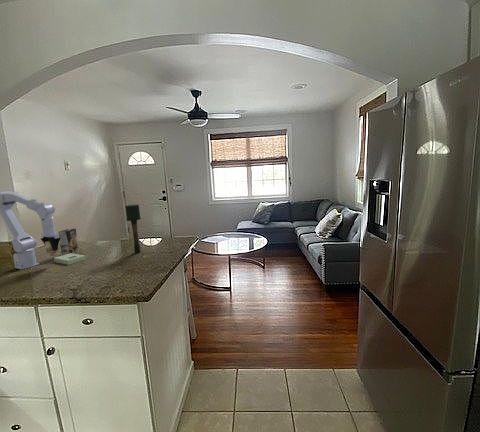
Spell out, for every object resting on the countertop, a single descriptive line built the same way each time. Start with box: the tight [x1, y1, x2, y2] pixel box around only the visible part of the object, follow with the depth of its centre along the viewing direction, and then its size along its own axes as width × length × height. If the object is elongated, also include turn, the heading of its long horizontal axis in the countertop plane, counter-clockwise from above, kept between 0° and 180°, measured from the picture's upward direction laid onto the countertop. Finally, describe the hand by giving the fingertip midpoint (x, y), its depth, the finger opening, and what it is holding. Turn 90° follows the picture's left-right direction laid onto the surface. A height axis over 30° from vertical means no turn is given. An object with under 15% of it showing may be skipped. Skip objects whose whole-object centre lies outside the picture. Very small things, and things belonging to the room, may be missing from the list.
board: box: [53, 253, 87, 266], centre depth 166 cm, size 10×15×2 cm, turn 61°
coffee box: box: [57, 228, 80, 256], centre depth 180 cm, size 9×6×16 cm
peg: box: [44, 241, 59, 257], centre depth 157 cm, size 6×6×8 cm
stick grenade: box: [124, 204, 142, 254], centre depth 174 cm, size 8×9×30 cm
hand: (52, 249), depth 157 cm, fingers closed on peg, 6 cm apart
